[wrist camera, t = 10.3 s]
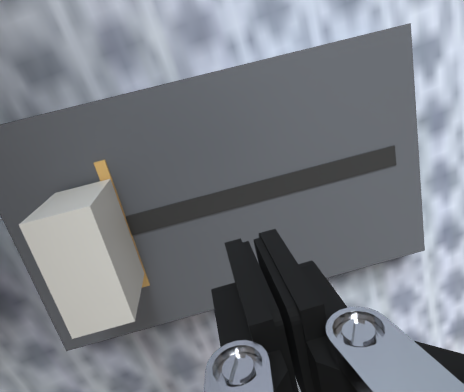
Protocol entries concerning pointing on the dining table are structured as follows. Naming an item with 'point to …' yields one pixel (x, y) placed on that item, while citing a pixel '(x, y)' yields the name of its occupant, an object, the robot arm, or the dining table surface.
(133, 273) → the fader
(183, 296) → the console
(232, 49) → the dining table surface
